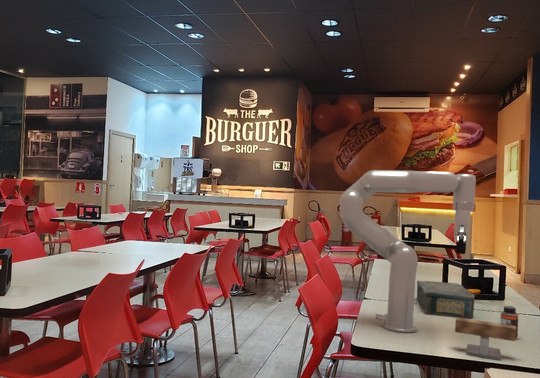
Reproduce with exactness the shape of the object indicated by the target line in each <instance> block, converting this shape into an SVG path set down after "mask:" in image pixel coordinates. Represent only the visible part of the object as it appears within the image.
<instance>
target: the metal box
mask: <svg viewBox="0 0 540 378" xmlns="http://www.w3.org/2000/svg"><path fill="white" fill-rule="evenodd" d="M416 285H417V289H416V301H417V302H418V304H419V305H420V307H421V309H422V310H423V312H424V314H425V315H435V316H441V317H442V316H443V317H451V318H456V317H457V318H464V319H472V318H473V317H474V309H475V299H476V298H475V294H473V293H472V292H470V291H469V289H467V288H465V287H464V286H463V285H462V284H460V283H455V282H444V281H443V282H442V281H429V280H427V281H426V280H424V281H422V280H417V281H416Z"/></svg>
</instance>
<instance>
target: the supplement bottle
mask: <svg viewBox="0 0 540 378" xmlns="http://www.w3.org/2000/svg"><path fill="white" fill-rule="evenodd" d="M516 309H517V308H516V307H515V306H511V305H504V306H503V311H502V312H501V313H500V322H499V324H506V325H513V326H515V327H516V339H517V338H518V331H519V314H518V313H517V312H516V311H517V310H516Z"/></svg>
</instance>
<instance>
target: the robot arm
mask: <svg viewBox="0 0 540 378" xmlns="http://www.w3.org/2000/svg"><path fill="white" fill-rule="evenodd" d="M476 178H477V177H476V175H474V174H471V173H470V174H469V173H458V174H455V173H453V172H451V171H419V170H418V171H417V170H416V171H415V170H397V169H395V170H393V169H391V170H387V169H385V170H384V169H373V170H368V171H367V172H365V173H364V174H363V175H362V176H361V177H359V179H358V180H356V181H355V182H354V183H353V184H352V185H351V186H349V187H348V188H347V189H346V190H345V191H343V193H342V194H341V195H340V199H339V214H340V217H341V220H342V222H343V224H344V226H345V227H346V228H347V229H348V230H349V231H350V232H352V234H354V235H355V236H357V237H358V238H359V239H360V240H362V242H364V243H365V244H366V245H367V246H368V247H369V248H370V249H372V250H373V251H375V252H376V253H377V254H378V255H379V256H381V257H383V258H384V259H385V260H387V262H389V263H390V270H389V276H388V277H389V280H388V295H387V296H388V297H387V313H386V314H385V313H384V314H380V313H375V319H376V320H378V321H383V322H382V327H383V328H384V329H386V330H388V331H392V332H397V333H407V334H408V333H415V332H417V330H418V327H417V326H416V325H415V324H414V309H415V296H416V295H415V294H416V293H415V292H416V291H415V290H416V278H417V277H416V276H417V269H418V262H419V261H418V255H417V253H416V251H415V249H414V248H413V247H412V246H410V245H408V244H406V243H405V242H403V241H402V240H400V239H399V237H397V236H395V235H394V234H392V233H391V232H390V231H389V230H388V229H387V228H385V227H383V226H382V225H380V224H379V223H377V222H376V221H374V220H373V219H372V218H371V217H370V216H368V215H367V214H366V213H365V212H364V210H363V204H364V203H365V202H367V201H368V200H369V199H370V198H371V197H373V196H374V195H375V193H390V194H391V193H395V194H396V193H397V194H398V193H399V194H413V193H453V197H452V201H453V202H452V211H455V214H454V222H453V225H454V226H453V237H454V238H456V237H457V240H456V241H457V242H456V245H455V246H456V248H455V253H456V254H459V255H465V254H466V252H467V250H466V249H467V241H466V240H467V238H468V235H469V232H470V225H471V212H475V201H476V200H475V199H476V185H477V184H476V183H477V179H476Z"/></svg>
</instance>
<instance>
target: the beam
mask: <svg viewBox="0 0 540 378" xmlns="http://www.w3.org/2000/svg"><path fill="white" fill-rule="evenodd" d="M454 323H455V324H454V325H455V326H454V332H455V333H460V334H465V335H472V336H479V337H480V336H484V337H489V338H490V339H491V338H492V339H496V340H497V339H498V340H504V341H512V342H516V339H517V338H516V327H515V326H513V325H506V324H500V322H499V323H498V322H491V321H483V320H476V319H472V318H461V317H455V322H454Z"/></svg>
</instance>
